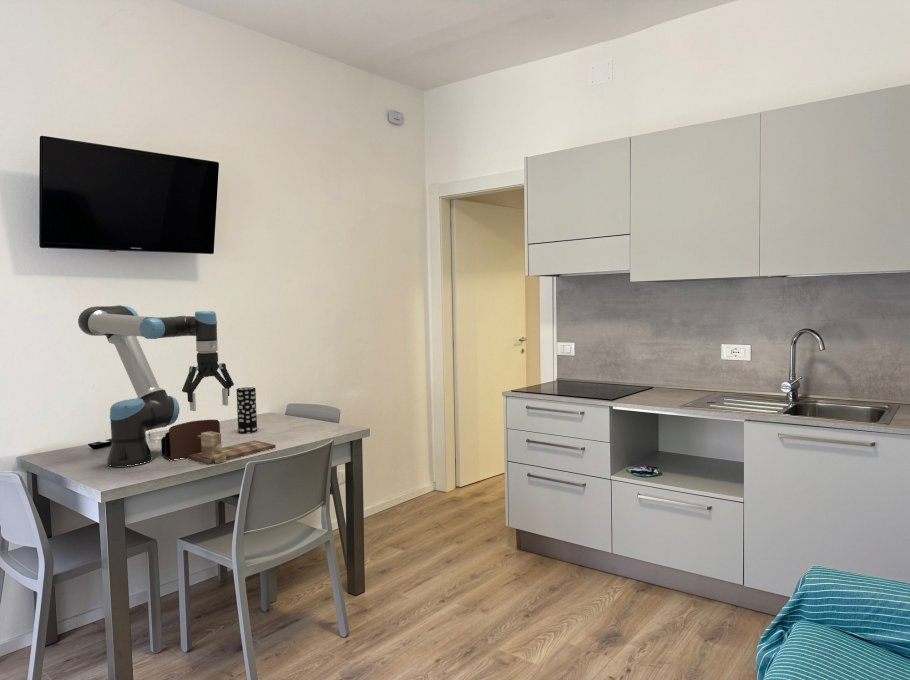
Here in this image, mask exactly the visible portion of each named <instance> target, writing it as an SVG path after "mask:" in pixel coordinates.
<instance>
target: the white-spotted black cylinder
mask: <svg viewBox="0 0 910 680" xmlns="http://www.w3.org/2000/svg"><path fill="white" fill-rule="evenodd" d="M256 390H257V389H256V387H253V386H251V387H250V386H247V387H238V388H236V411H237V433H238V434H240V435H241V434H242V435H244V434H245V435H246V434H247V433H249V434H254V433H257V432H258V420H257V419H258V416H257V392H256Z"/></svg>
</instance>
